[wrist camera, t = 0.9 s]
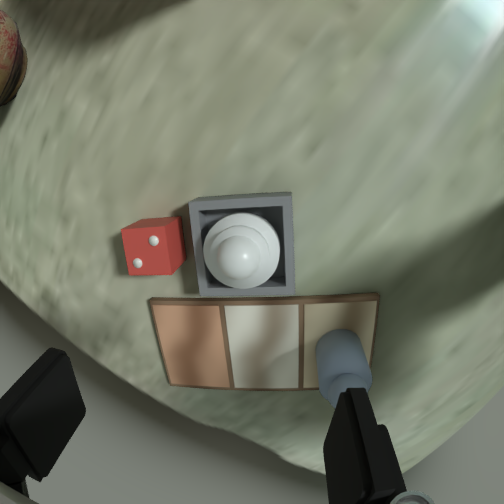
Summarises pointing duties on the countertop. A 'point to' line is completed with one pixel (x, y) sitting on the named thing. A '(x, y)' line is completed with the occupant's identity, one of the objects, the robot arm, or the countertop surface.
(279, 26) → the countertop surface
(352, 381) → the pawn
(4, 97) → the ceramic jug
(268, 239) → the dome
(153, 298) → the game track
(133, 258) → the red die
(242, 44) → the countertop surface
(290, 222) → the base
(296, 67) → the countertop surface
